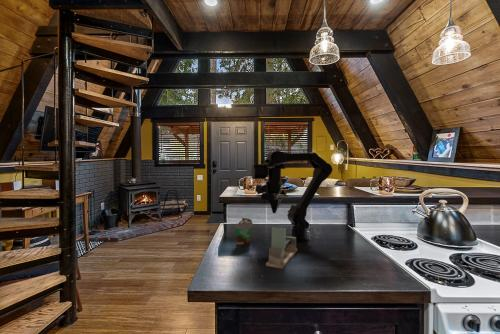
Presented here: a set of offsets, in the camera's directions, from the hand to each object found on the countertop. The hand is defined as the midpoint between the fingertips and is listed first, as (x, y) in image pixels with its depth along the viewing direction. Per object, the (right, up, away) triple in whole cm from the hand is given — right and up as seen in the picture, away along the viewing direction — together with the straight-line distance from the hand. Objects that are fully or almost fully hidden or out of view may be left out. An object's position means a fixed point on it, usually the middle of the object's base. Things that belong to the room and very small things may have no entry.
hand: (274, 213), depth 123 cm
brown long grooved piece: (+2, -14, -19) cm, 24 cm away
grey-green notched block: (-1, -12, -24) cm, 27 cm away
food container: (-13, -13, -2) cm, 19 cm away
